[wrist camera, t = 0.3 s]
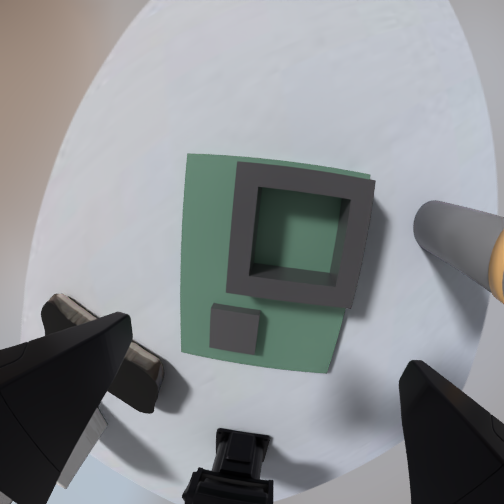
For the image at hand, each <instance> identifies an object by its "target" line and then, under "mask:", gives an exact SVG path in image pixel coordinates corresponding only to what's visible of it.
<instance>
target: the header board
mask: <svg viewBox="0 0 504 504" xmlns="http://www.w3.org/2000/svg"><path fill="white" fill-rule="evenodd" d="M374 189H375V180H370V175H369V174H364V173H359V172H354V171H348V170H343V169H337V168H331V167H324V166H318V165H311V164H304V163H296V162H289V161H280V160H271V159H262V158H251V157H240V156H226V155H210V154H187V163H186V175H185V188H184V202H183V219H182V242H181V285H180V310H181V352H183V353H188V354H192V355H197V356H202V357H207V358H212V359H217V360H223V361H228V362H234V363H240V364H247V365H253V366H260V367H267V368H275V369H283V370H292V371H302V372H314V373H327V371H328V368H329V365H330V362H331V358H332V355H333V352H334V348H335V345H336V342H337V338H338V335H339V331H340V328H341V324H342V320H343V316H344V313H345V309H346V308H349V309H351V307H352V303H353V299H354V295H355V291H356V287H357V282H358V278H359V274H360V269H361V265H362V260H363V255H364V250H365V245H366V240H367V234H368V228H369V223H370V217H371V210H372V204H373V197H374Z"/></svg>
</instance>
